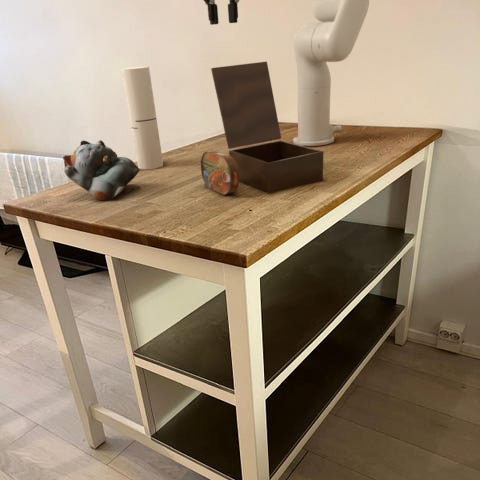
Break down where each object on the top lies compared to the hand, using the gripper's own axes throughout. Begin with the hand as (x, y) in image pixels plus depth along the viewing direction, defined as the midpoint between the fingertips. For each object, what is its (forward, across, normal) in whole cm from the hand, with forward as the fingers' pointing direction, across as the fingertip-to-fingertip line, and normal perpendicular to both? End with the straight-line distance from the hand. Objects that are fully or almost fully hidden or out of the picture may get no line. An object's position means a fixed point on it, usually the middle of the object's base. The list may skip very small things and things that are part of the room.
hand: (223, 22), depth 117 cm
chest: (+33, 0, -21) cm, 39 cm away
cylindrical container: (+34, -19, +15) cm, 41 cm away
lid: (+18, 0, -10) cm, 20 cm away
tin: (+34, -15, -20) cm, 42 cm away
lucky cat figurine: (+34, -37, -3) cm, 50 cm away
